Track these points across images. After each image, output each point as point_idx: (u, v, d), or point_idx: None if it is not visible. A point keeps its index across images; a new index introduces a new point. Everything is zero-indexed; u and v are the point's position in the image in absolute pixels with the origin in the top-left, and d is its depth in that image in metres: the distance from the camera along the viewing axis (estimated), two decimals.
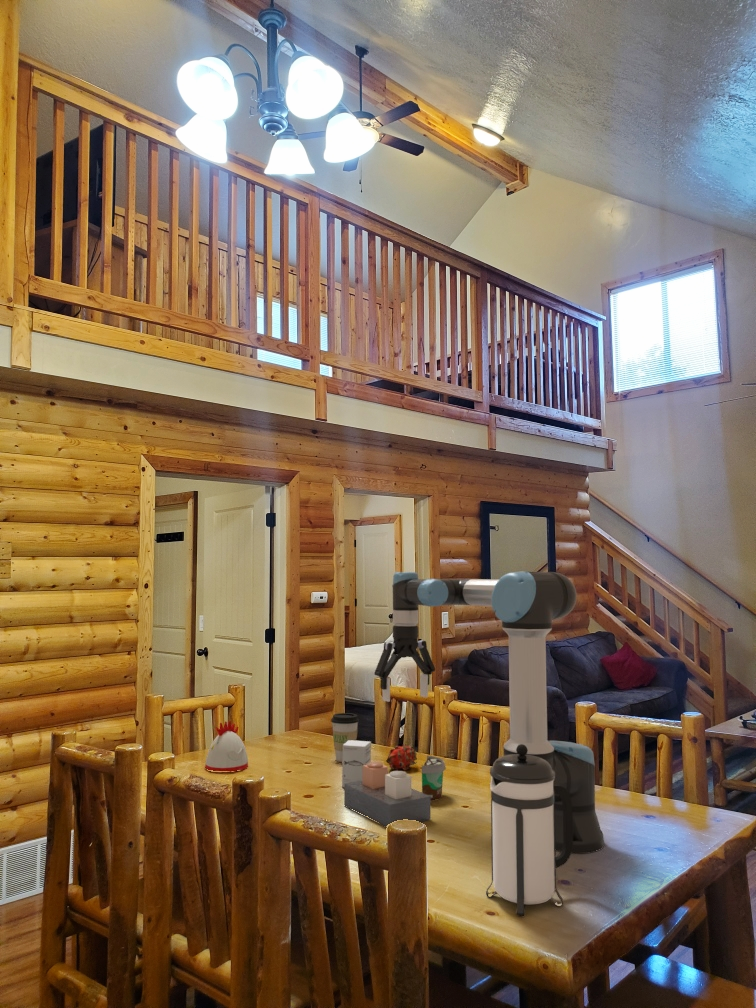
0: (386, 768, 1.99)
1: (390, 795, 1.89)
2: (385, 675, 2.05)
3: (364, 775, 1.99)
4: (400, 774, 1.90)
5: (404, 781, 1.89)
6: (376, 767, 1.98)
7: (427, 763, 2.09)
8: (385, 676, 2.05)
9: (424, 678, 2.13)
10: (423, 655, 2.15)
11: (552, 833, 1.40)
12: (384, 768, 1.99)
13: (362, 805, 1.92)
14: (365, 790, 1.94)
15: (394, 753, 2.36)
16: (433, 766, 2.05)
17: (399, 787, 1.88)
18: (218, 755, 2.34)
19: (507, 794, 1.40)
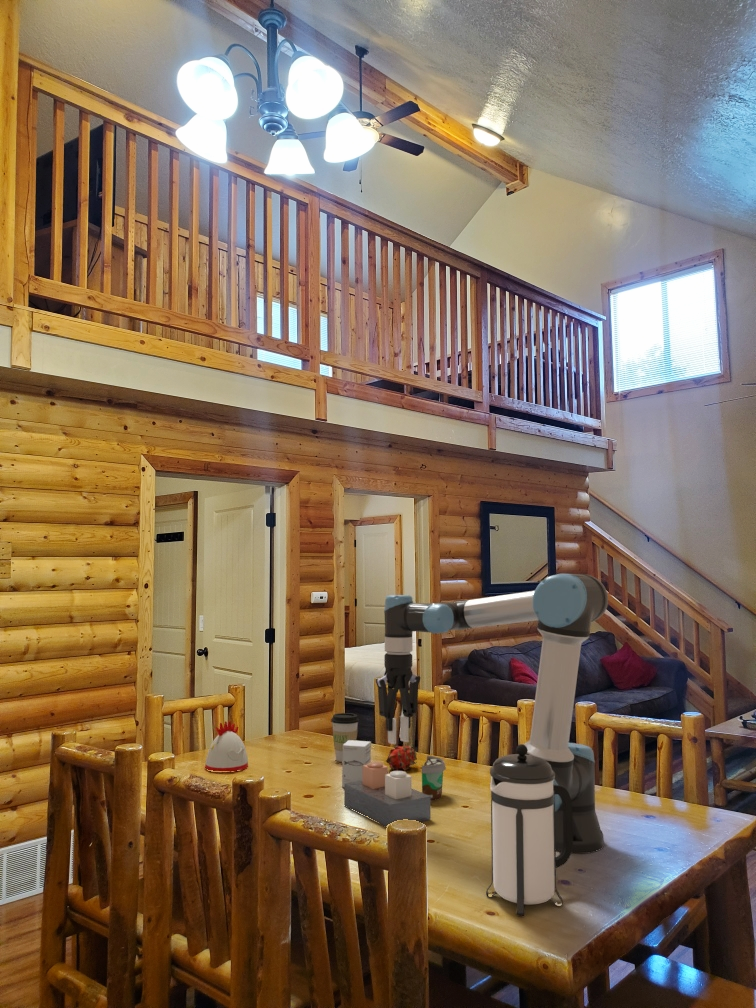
0: (386, 768, 1.99)
1: (390, 795, 1.89)
2: (391, 716, 1.90)
3: (364, 775, 1.99)
4: (400, 774, 1.90)
5: (404, 781, 1.89)
6: (376, 767, 1.98)
7: (427, 763, 2.09)
8: (391, 717, 1.90)
9: (404, 721, 1.92)
10: (411, 691, 1.96)
11: (552, 833, 1.40)
12: (384, 768, 1.99)
13: (362, 805, 1.92)
14: (365, 790, 1.94)
15: (394, 753, 2.36)
16: (433, 766, 2.05)
17: (399, 787, 1.88)
18: (218, 755, 2.34)
19: (507, 794, 1.40)
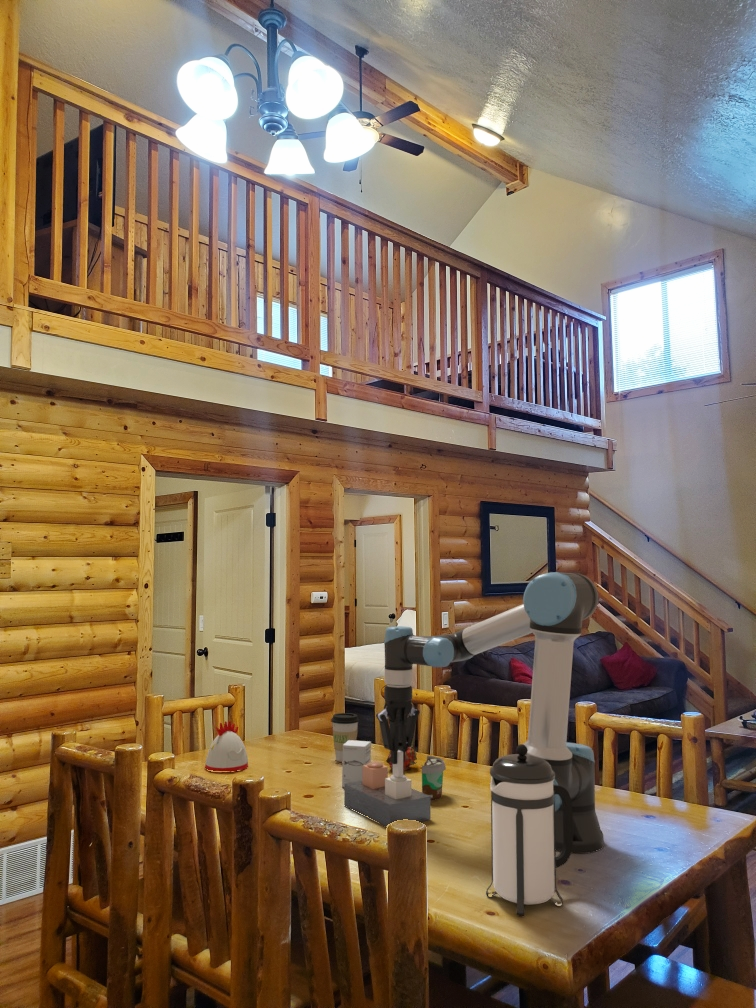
0: (386, 768, 1.99)
1: None
2: (395, 749, 1.90)
3: (364, 775, 1.99)
4: (400, 778, 1.89)
5: (404, 785, 1.89)
6: (376, 767, 1.98)
7: (427, 763, 2.09)
8: (396, 750, 1.90)
9: None
10: (408, 724, 1.94)
11: (552, 833, 1.40)
12: (384, 768, 1.99)
13: (362, 805, 1.92)
14: (365, 790, 1.94)
15: None
16: (433, 766, 2.05)
17: (399, 791, 1.88)
18: (218, 755, 2.34)
19: (507, 794, 1.40)
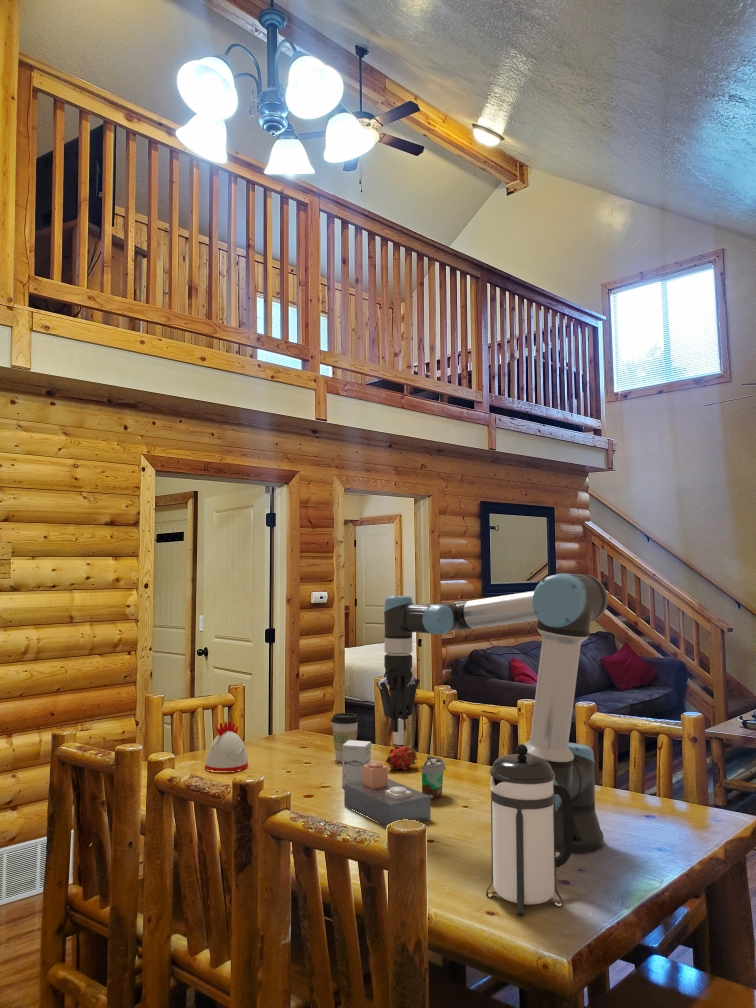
0: (386, 768, 1.99)
1: None
2: (396, 717, 1.90)
3: (364, 775, 1.99)
4: (400, 790, 1.89)
5: (404, 797, 1.88)
6: (376, 767, 1.98)
7: (427, 763, 2.09)
8: (396, 718, 1.90)
9: None
10: (408, 693, 1.95)
11: (552, 833, 1.40)
12: (384, 768, 1.99)
13: (362, 805, 1.92)
14: (365, 790, 1.94)
15: (394, 753, 2.36)
16: (433, 766, 2.05)
17: None
18: (218, 755, 2.34)
19: (507, 794, 1.40)
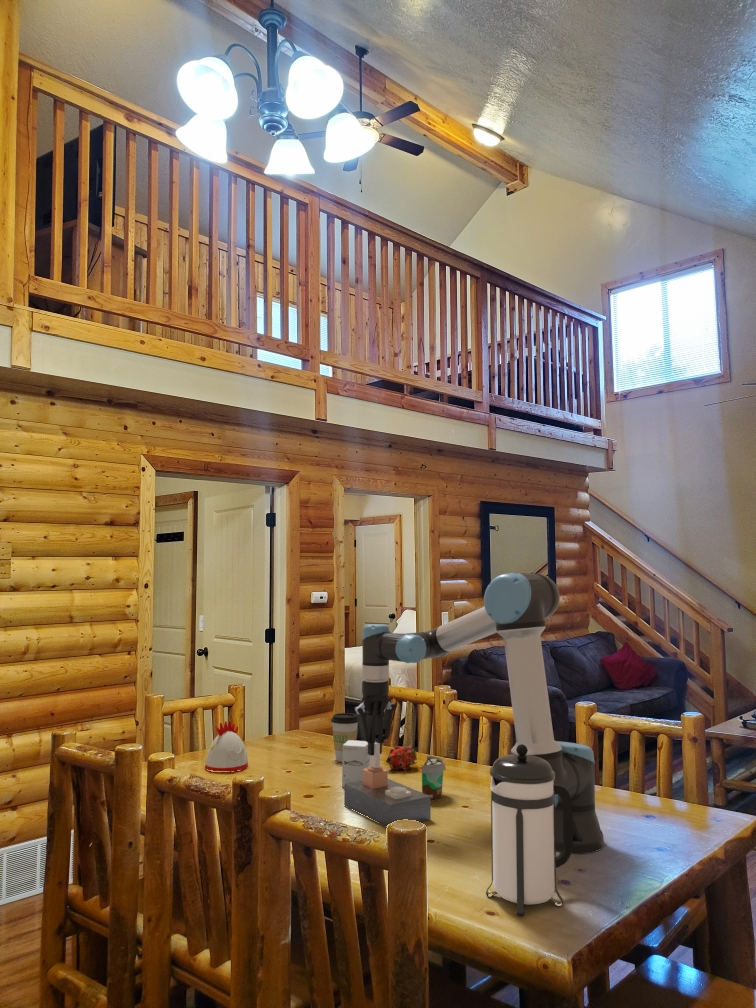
0: (386, 772, 1.99)
1: None
2: (372, 741, 1.99)
3: (364, 779, 1.99)
4: (400, 790, 1.89)
5: (404, 797, 1.88)
6: (376, 771, 1.98)
7: (427, 763, 2.09)
8: (373, 742, 1.99)
9: None
10: (385, 718, 2.03)
11: (552, 833, 1.40)
12: (384, 772, 1.99)
13: (362, 805, 1.92)
14: (365, 790, 1.94)
15: (394, 753, 2.36)
16: (433, 766, 2.05)
17: None
18: (218, 755, 2.34)
19: (507, 794, 1.40)
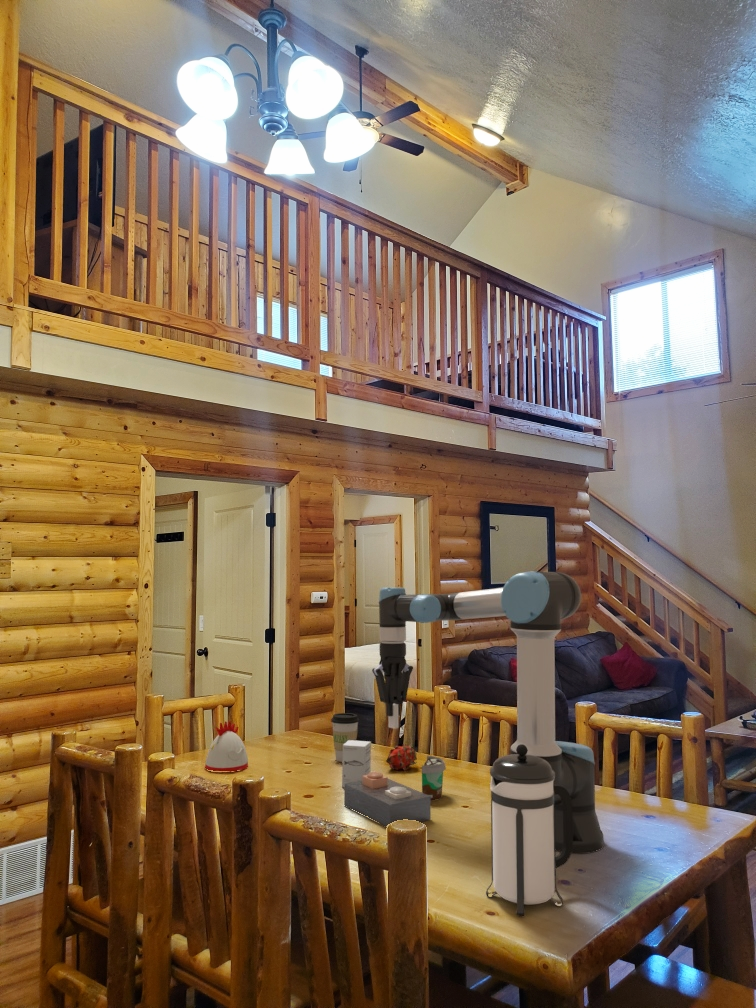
0: (386, 778, 1.99)
1: None
2: (391, 702, 2.00)
3: (364, 785, 1.99)
4: (400, 790, 1.89)
5: (404, 797, 1.88)
6: (376, 778, 1.97)
7: (427, 763, 2.09)
8: (391, 703, 2.01)
9: None
10: (402, 680, 2.05)
11: (552, 833, 1.40)
12: (384, 778, 1.98)
13: (362, 805, 1.92)
14: (365, 790, 1.94)
15: (394, 753, 2.36)
16: (433, 766, 2.05)
17: None
18: (218, 755, 2.34)
19: (507, 794, 1.40)
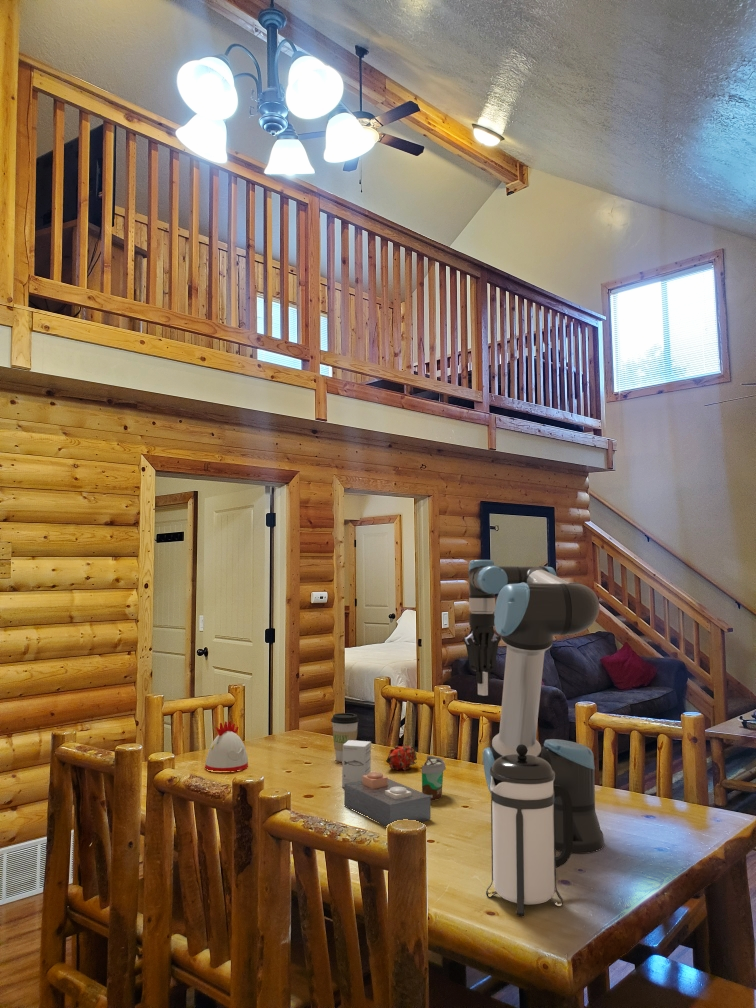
0: (386, 778, 1.99)
1: None
2: (481, 670, 2.08)
3: (364, 785, 1.99)
4: (400, 790, 1.89)
5: (404, 797, 1.88)
6: (376, 778, 1.97)
7: (427, 763, 2.09)
8: (481, 671, 2.08)
9: None
10: (491, 649, 2.12)
11: (552, 833, 1.40)
12: (384, 778, 1.98)
13: (362, 805, 1.92)
14: (365, 790, 1.94)
15: (394, 753, 2.36)
16: (433, 766, 2.05)
17: None
18: (218, 755, 2.34)
19: (507, 794, 1.40)
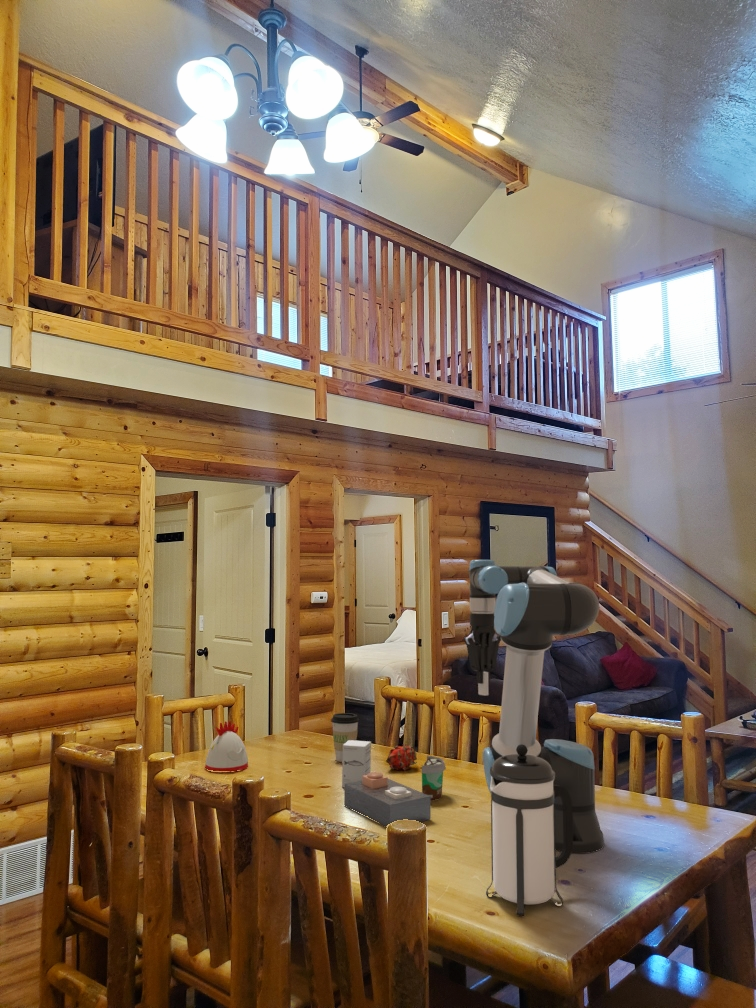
0: (386, 778, 1.99)
1: None
2: (482, 670, 2.08)
3: (364, 785, 1.99)
4: (400, 790, 1.89)
5: (404, 797, 1.88)
6: (376, 778, 1.97)
7: (427, 763, 2.09)
8: (482, 671, 2.08)
9: None
10: (491, 649, 2.12)
11: (552, 833, 1.40)
12: (384, 778, 1.98)
13: (362, 805, 1.92)
14: (365, 790, 1.94)
15: (394, 753, 2.36)
16: (433, 766, 2.05)
17: None
18: (218, 755, 2.34)
19: (507, 794, 1.40)
